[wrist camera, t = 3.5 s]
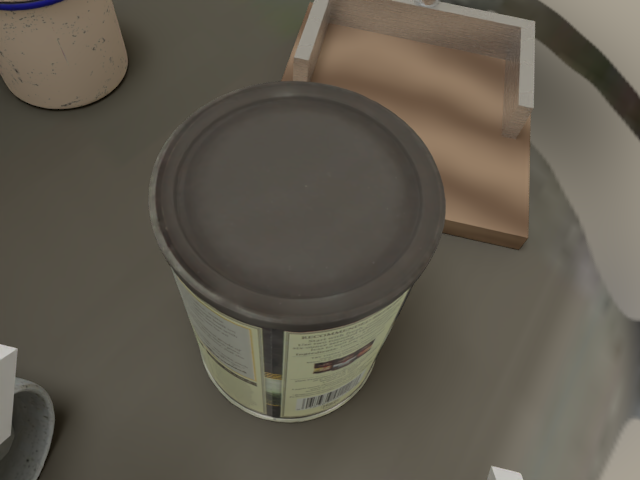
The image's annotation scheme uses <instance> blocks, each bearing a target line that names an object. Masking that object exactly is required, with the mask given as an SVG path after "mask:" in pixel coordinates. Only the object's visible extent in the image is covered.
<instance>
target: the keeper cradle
mask: <svg viewBox="0 0 640 480" xmlns="http://www.w3.org/2000/svg"><path fill="white" fill-rule="evenodd" d="M329 23H332V24H336V25H341V26H346V27H351V28H355V29H360V30H365V31H370V32H375V33H379V34H384V35H389V36H394V37H398V38H403V39H408V40H413V41H417V42H422V43H427V44H432V45H436V46H441V47H446V48H451V49H456V50H460V51H465V52H470V53H475V54H479V55H484V56H489V57H494V58H498V59H503V60H506V66H505V84H504V102H503V120H502V136H503V137H508V138H512V139H516V138H517V136H518V135H519V133H520V131H521V129H522V128H523V126H524V124H525V123H526V121H527V119H528V117H529V116H530V114H531V112H532V111H533V109H534V56H535V55H534V54H535V21H531V20H526V19H521V18H516V17H511V16H506V15H501V14H497V13H492V12H487V11H482V10H477V9H472V8H468V7H463V6H458V5H453V4H448V3H443V2H440V0H314V3H313V5H312V8H311V11H310V14H309V17H308V19H307V22H306V25H305V28H304V30H303V33H302V36H301V39H300V42H299V44H298V47H297V50H296V53H295V56H294V66H293V81H305V82H310V80H311V77H312V74H313V71H314V68H315V65H316V62H317V59H318V56H319V53H320V50H321V46H322V43H323V40H324V37H325V34H326V31H327V28H328V25H329Z"/></svg>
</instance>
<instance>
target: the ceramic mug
mask: <svg viewBox="0 0 640 480" xmlns="http://www.w3.org/2000/svg"><path fill="white" fill-rule="evenodd" d="M54 423H55V414H54V407H53V402H52V400H51V397H50V396H49V394H48V393H47V391H46V390H45V389H43V388H42V387H41V386H39V385H38V384H36V383H33V382H31V381H28V380H25V379H21V378H17V377H15V387H14V400H13V412H12V424H11V435H10V436H9V437H8V438H7V439H6V440H5V441H4V442H2V443H1V444H0V480H37V478H38V476H39V474H40V472H41V469H42V468H43V466H44V462H45V459H46V457H47V455H48V452H49V449H50V445H51V439H52V435H53V431H54Z"/></svg>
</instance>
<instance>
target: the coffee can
mask: <svg viewBox="0 0 640 480" xmlns="http://www.w3.org/2000/svg"><path fill="white" fill-rule="evenodd" d="M148 207H149V213H150V219H151V224H152V228H153V232H154V235H155V238H156V240H157V242H158V245H159V247H160V249H161V251H162V253H163V255H164V257H165V259H166V260H167V262H168V263H169V265H170V266H171V269H172V272H173V275H174V277H175V280H176V283H177V286H178V288H179V291H180V294H181V297H182V299H183V302H184V305H185V308H186V310H187V313H188V317H189V320H190V322H191V324H192V327H193V330H194V333H195V336H196V339H197V342H198V344H199V347H200V352H201V356H202V360H203V363H204V366H205V368H206V370H207V373H208V375H209V377H210V378H211V380H212V382H213V383H214V384H215V386H216V387H217V388H218V390H219V391H220V392H221V393H222V394H223V395H224V396H225V397H226V398H227V399H228V400H229V401H230V402H231V403H232V404H234V405H236V406H237V407H239V408H240V409H242V410H243V411H245V412H247V413H249V414H251V415H254V416H256V417H259V418H262V419H265V420H270V421H276V422H303V421H307V420H312V419H315V418H319V417H321V416H324V415H326V414H329V413H330V412H332V411H334V410H336V409H338V408H339V407H341V406H342V405H344V404H345V403H346V402H347V401H349V400H350V399H351V398H352V397H353V396H354V395H355V394H356V393H357V392H358V391H359V390H360V389H361V388H362V387H363V385H364V383H365V382H366V380H367V378H368V377H369V375H370V373H371V371H372V369H373V366H374V363H375V360H376V358H377V356H378V354H379V352H380V350H381V348H382V346H383V344H384V342H385V340H386V338H387V336H388V334H389V332H390V330H391V328H392V326H393V324H394V322H395V320H396V318H397V317H398V316H399V314H400V311H401V309H402V307H403V305H404V303H405V301H406V299H407V297H408V295H409V293H410V291H411V288H412V286H413V285H414V283H415V282H416V280H417V279H418V278H419V277H420V276H421V274H422V273H423V271H424V270H425V268H426V267H427V265H428V264H429V262H430V260H431V258H432V256H433V254H434V253H435V251H436V249H437V246H438V244H439V241H440V238H441V235H442V231H443V228H444V223H445V214H446V199H445V193H444V186H443V183H442V179H441V176H440V173H439V170H438V168H437V165H436V163H435V161H434V159H433V157H432V155H431V153H430V151H429V150H428V148H427V146H426V145H425V143H424V142H423V141H422V139H421V138H420V137H419V136H418V135H417V134H416V132H415V131H414V130H413V129H412V128H411V127H410V126H409V125H408V124H407V123H406V122H405V121H404V120H402V119H401V118H400V117H398V116H397V115H396V114H395V113H393V112H392V111H390V110H389V109H387V108H386V107H384V106H382V105H381V104H379V103H378V102H376V101H373V100H371V99H369V98H367V97H365V96H363V95H361V94H359V93H356V92H354V91H350V90H347V89H344V88H341V87H337V86H333V85H328V84H323V83H316V82H305V81H280V82H269V83H263V84H257V85H252V86H248V87H244V88H241V89H238V90H235V91H232V92H230V93H227V94H225V95H222V96H220V97H218V98H216V99H214V100H212V101H211V102H209V103H207V104H206V105H204V106H202V107H201V108H199V109H198V110H196V111H195V112H193V113H192V114H191V115H190V116H189V117H188V118H187V119H185V120H184V121H183V122H182V123H181V124H180V125H179V126H178V127H177V128H176V129H175V131H174V132H173V133H172V135H171V136H170V137H169V138H168V140H167V141H166V143H165V144H164V146H163V148H162V149H161V151H160V153H159V155H158V157H157V160H156V162H155V165H154V167H153V171H152V174H151V179H150V184H149V199H148Z"/></svg>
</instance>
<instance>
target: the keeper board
mask: <svg viewBox="0 0 640 480" xmlns="http://www.w3.org/2000/svg"><path fill="white" fill-rule="evenodd" d="M312 5H313V3H311V2H310V3H309V6H308V9H307V12H306V14H305V17H304V20H303V23H302V25H301V28H300V31H299V34H298V36H297V39H296V42H295V45H294V47H293V50H292V53H291V56H290V58H289V61H288V64H287V67H286V69H285V72H284V75H283V78H282V80H281V81H293V66H294V56H295V53H296V50H297V47H298V44H299V42H300V39H301V36H302V33H303V30H304V28H305V25H306V22H307V19H308V17H309V14H310V11H311V8H312ZM505 66H506V60H503V59H498V58H494V57H489V56H484V55H479V54H475V53H470V52H465V51H460V50H456V49H451V48H446V47H441V46H436V45H432V44H427V43H422V42H417V41H413V40H408V39H403V38H398V37H394V36H389V35H384V34H379V33H375V32H370V31H365V30H360V29H355V28H351V27H346V26H341V25H336V24H332V23H329V25H328V28H327V31H326V34H325V37H324V40H323V43H322V46H321V50H320V53H319V56H318V59H317V62H316V65H315V68H314V71H313V74H312V77H311V80H310V82H316V83H323V84H328V85H333V86H337V87H341V88H344V89H347V90H350V91H354V92H356V93H359V94H361V95H363V96H365V97H367V98H369V99H371V100H373V101H376V102H378V103H379V104H381V105H382V106H384V107H386V108H387V109H389V110H390V111H392V112H393V113H395V114H396V115H397V116H398V117H400V118H401V119H402V120H404V121H405V122H406V123H407V124H408V125H409V126H410V127H411V128H412V129H413V130H414V131H415V132H416V134H417V135H418V136H419V137H420V138H421V139H422V141H423V142H424V143H425V145H426V146H427V148H428V150H429V151H430V153H431V155H432V157H433V159H434V161H435V163H436V165H437V168H438V170H439V173H440V176H441V179H442V183H443V186H444V193H445V199H446V214H445V223H444V228H443V231H442V233H446V234H451V235H455V236H459V237H464V238H468V239H473V240H477V241H482V242H486V243H491V244H495V245H500V246H504V247H508V248H513V249H517V250H519V249H520V248H521V246H522V245H523V244H524V243H525V241H526V240H527V239H528V224H529V171H530V116H531V114H530V116H529V117H528V119H527V121H526V123H525V124H524V126H523V128H522V129H521V131H520V133H519V135H518V136H517V138H516V139H512V138H508V137H503V136H502V120H503V102H504V84H505Z"/></svg>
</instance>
